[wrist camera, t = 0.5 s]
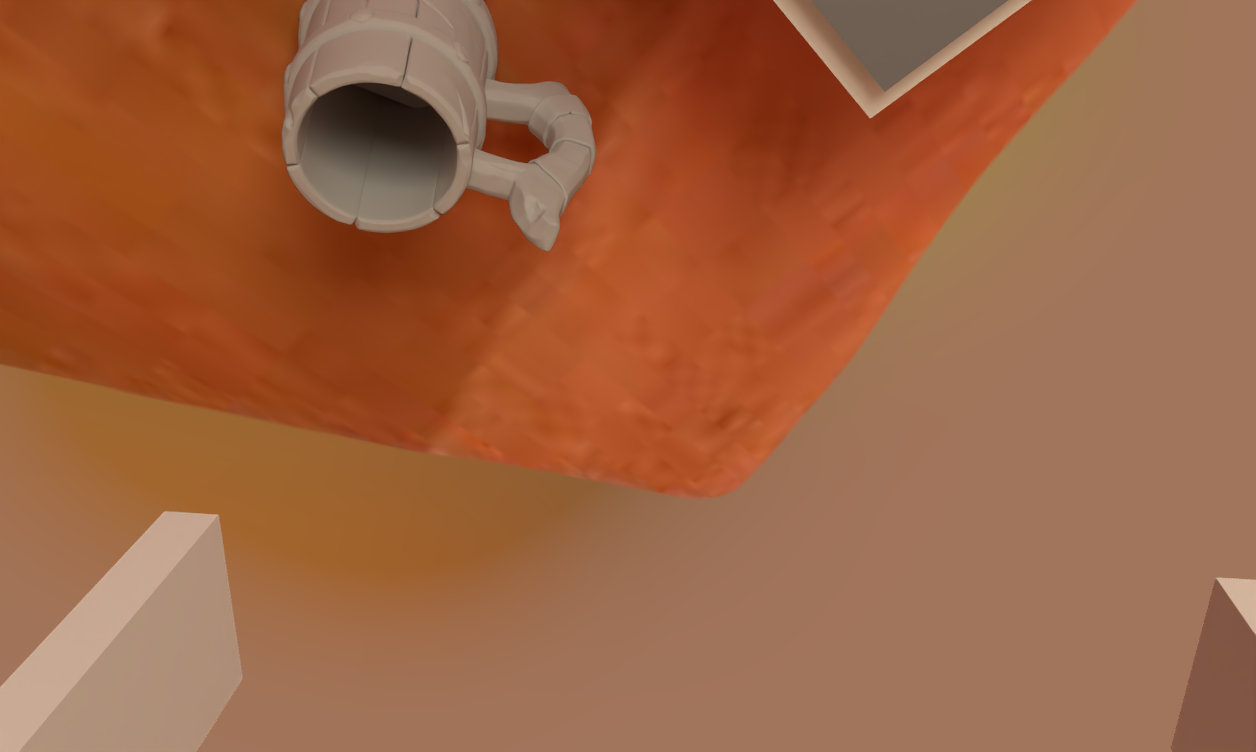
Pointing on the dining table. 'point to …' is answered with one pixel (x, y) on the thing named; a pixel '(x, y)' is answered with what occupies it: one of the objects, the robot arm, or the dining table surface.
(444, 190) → the mug
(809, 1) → the stand
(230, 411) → the dining table surface
